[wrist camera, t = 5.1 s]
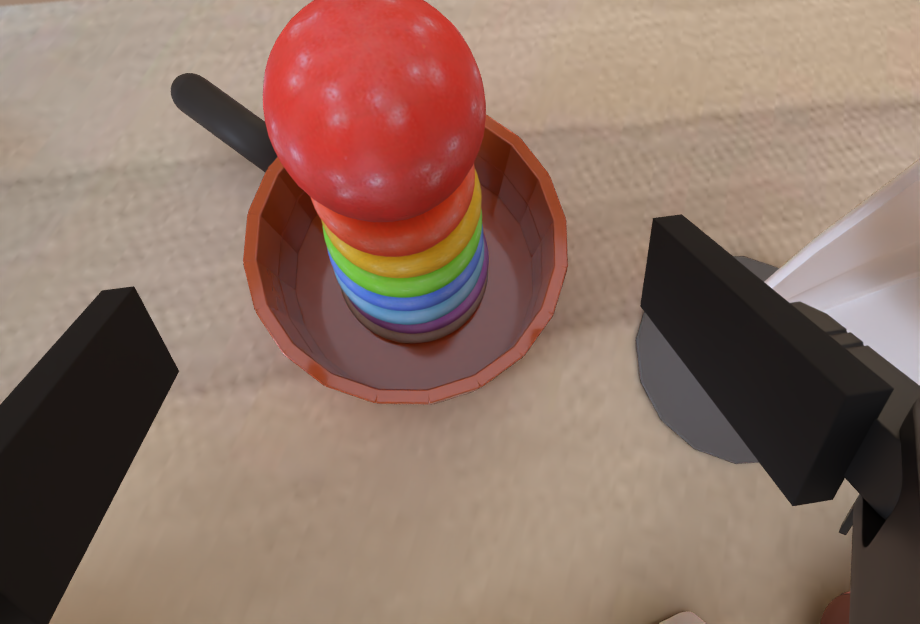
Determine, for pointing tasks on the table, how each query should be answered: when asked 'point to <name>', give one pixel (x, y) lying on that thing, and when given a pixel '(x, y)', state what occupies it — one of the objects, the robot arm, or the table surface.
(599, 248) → the table surface
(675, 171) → the table surface
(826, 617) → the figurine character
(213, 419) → the table surface
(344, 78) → the stacking toy
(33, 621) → the robot arm
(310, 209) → the pan
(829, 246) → the cup
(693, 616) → the pepper shaker
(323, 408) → the table surface
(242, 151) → the pan handle
